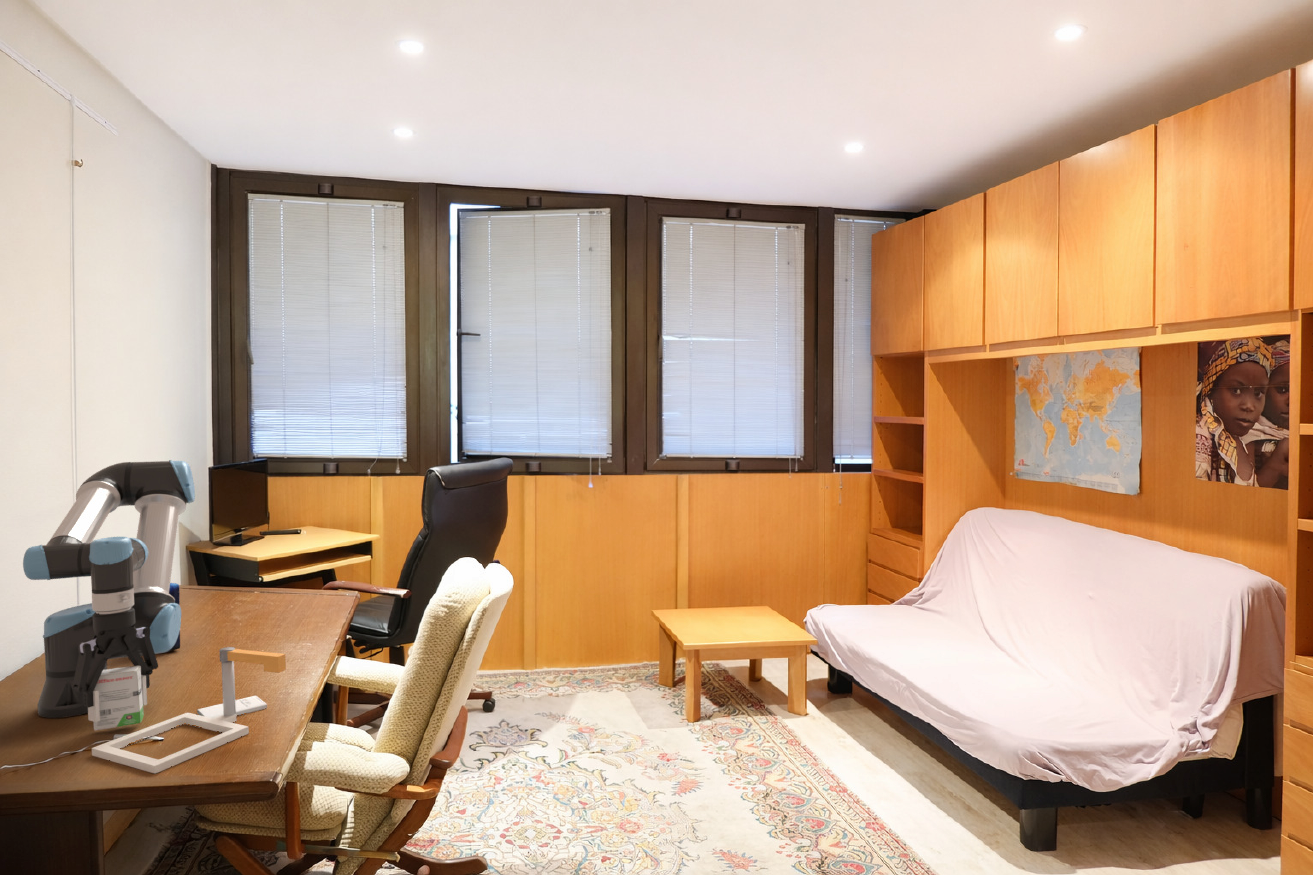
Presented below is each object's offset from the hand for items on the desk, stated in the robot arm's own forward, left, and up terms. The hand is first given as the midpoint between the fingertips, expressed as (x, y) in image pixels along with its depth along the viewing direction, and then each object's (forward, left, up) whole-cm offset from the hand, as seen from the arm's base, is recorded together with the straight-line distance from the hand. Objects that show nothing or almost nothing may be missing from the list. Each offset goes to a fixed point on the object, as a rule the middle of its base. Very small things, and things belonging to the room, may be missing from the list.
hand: (118, 712), depth 171 cm
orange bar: (+25, +14, +8) cm, 30 cm away
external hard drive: (+13, +17, -5) cm, 22 cm away
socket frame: (+18, +2, -4) cm, 19 cm away
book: (-50, +41, -4) cm, 65 cm away
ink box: (0, 0, -3) cm, 3 cm away
